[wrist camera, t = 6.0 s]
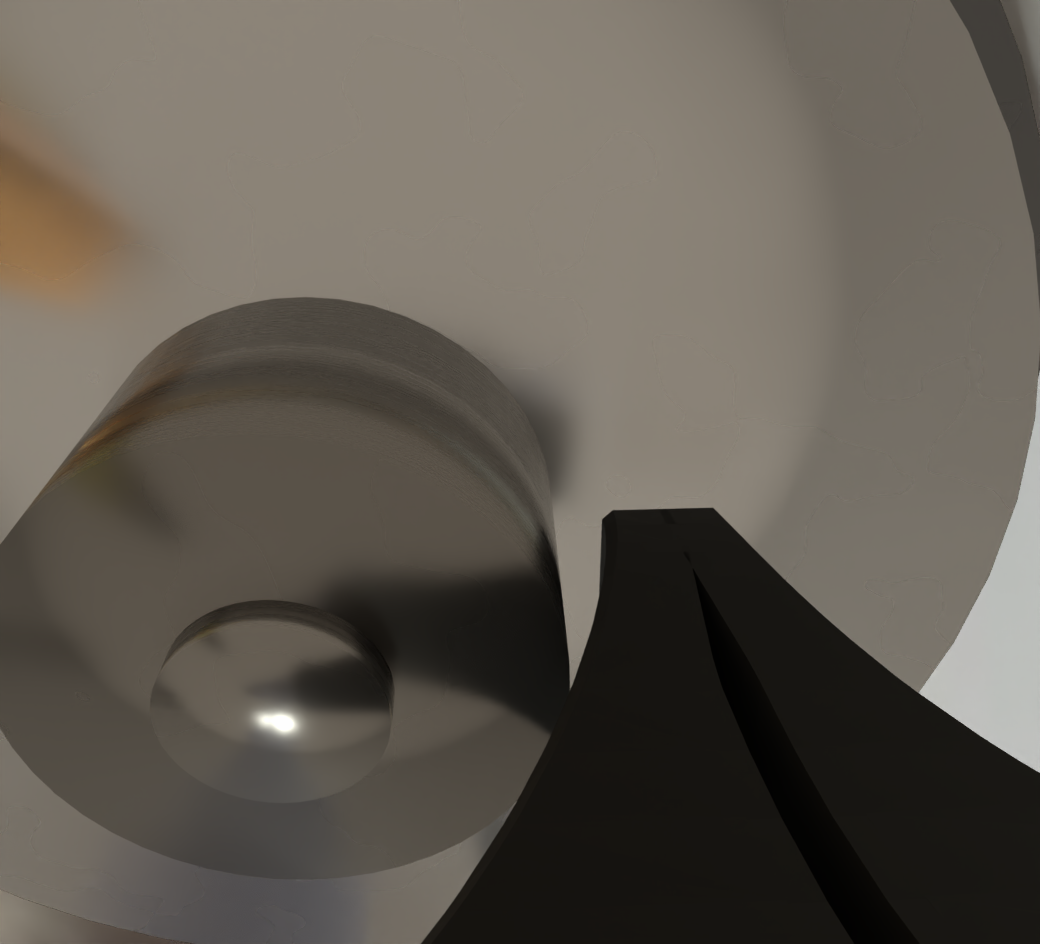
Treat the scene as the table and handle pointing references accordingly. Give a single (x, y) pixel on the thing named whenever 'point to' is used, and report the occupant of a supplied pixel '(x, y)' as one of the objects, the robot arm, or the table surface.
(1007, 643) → the table surface
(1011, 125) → the turntable base
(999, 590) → the table surface
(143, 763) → the cover
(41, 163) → the turntable
